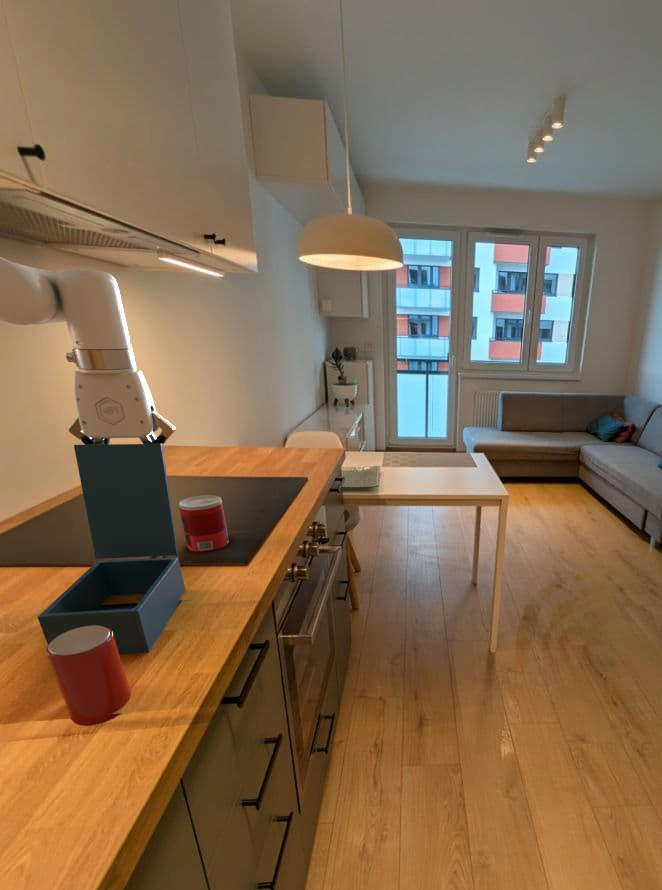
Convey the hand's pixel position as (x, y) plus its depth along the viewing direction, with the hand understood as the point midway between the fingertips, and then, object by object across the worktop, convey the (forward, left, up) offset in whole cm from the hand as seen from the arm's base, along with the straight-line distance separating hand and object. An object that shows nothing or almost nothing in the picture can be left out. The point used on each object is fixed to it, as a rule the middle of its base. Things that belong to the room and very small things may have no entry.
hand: (134, 474), depth 85 cm
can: (+4, -34, -21) cm, 40 cm away
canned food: (+5, +14, -21) cm, 26 cm away
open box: (0, -15, -21) cm, 26 cm away
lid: (0, -5, -3) cm, 6 cm away
